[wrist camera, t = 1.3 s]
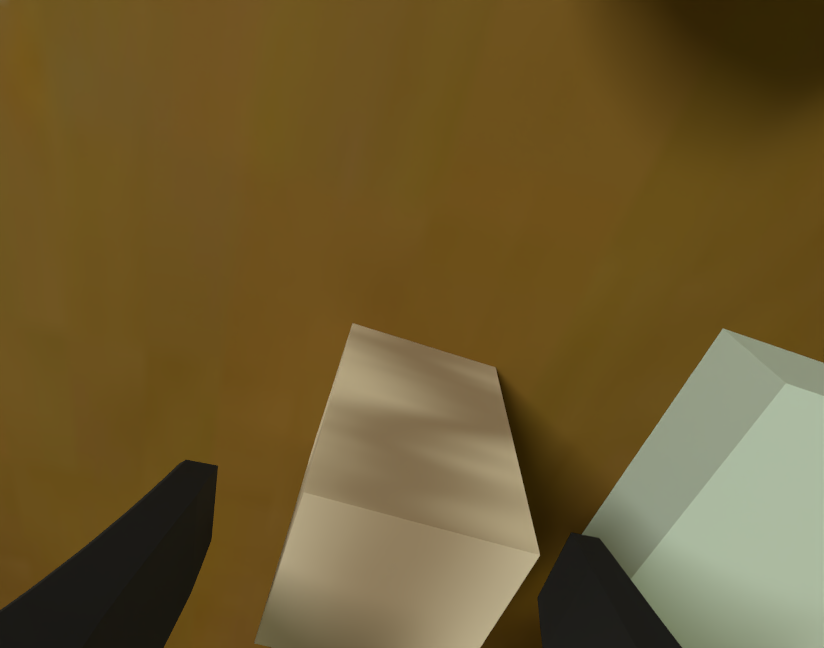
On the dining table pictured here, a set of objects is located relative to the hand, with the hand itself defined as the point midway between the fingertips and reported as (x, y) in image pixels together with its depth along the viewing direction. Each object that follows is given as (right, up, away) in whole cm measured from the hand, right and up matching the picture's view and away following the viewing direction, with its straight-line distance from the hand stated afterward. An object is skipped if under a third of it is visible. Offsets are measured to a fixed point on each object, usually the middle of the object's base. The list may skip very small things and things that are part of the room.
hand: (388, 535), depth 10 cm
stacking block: (+12, -1, +6) cm, 13 cm away
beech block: (0, +2, +4) cm, 5 cm away
